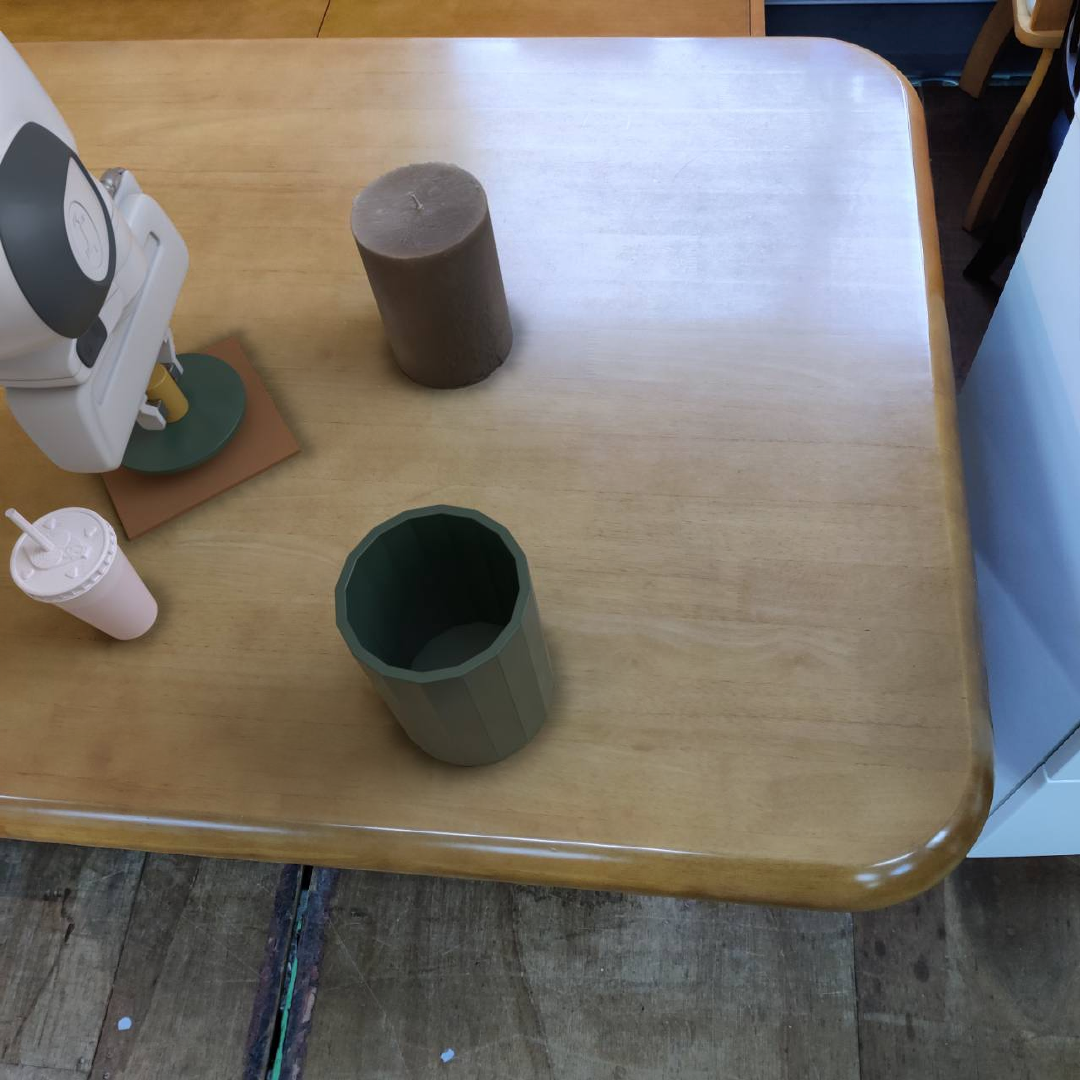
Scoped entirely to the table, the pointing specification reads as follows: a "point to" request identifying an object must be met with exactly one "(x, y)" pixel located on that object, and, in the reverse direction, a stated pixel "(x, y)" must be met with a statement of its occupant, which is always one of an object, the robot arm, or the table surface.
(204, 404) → the tin lid
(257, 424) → the cork mat
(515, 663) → the tin
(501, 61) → the table surface
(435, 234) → the pillar candle
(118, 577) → the smoothie
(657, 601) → the table surface
